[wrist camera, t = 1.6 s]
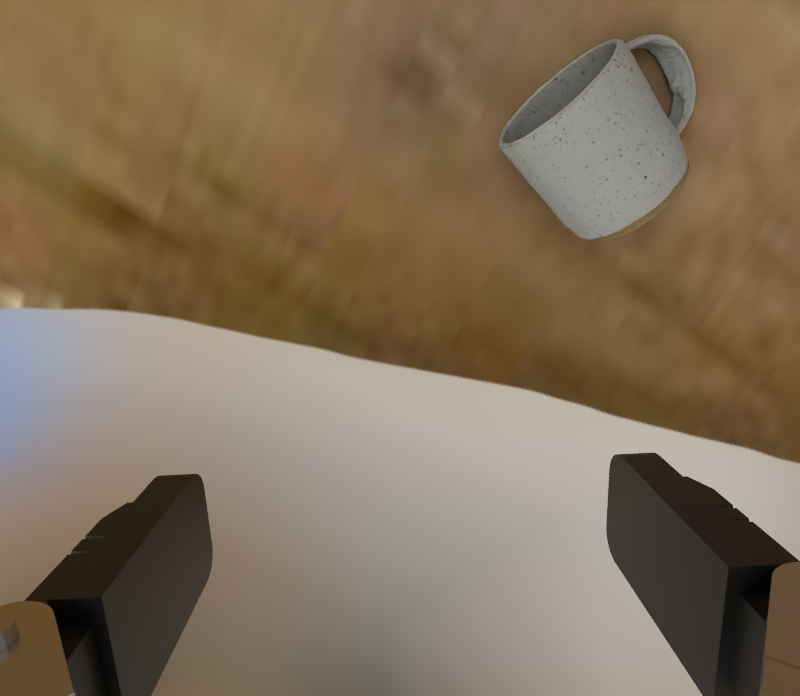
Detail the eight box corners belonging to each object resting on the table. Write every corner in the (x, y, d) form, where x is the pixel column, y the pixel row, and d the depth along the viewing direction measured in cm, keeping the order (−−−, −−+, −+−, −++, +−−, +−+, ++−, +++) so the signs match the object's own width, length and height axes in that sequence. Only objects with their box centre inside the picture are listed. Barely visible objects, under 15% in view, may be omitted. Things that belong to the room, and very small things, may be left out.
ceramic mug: (567, 234, 36) (608, 269, 29) (485, 138, 33) (509, 152, 26) (710, 110, 32) (795, 116, 26) (632, -6, 30) (704, -34, 23)
